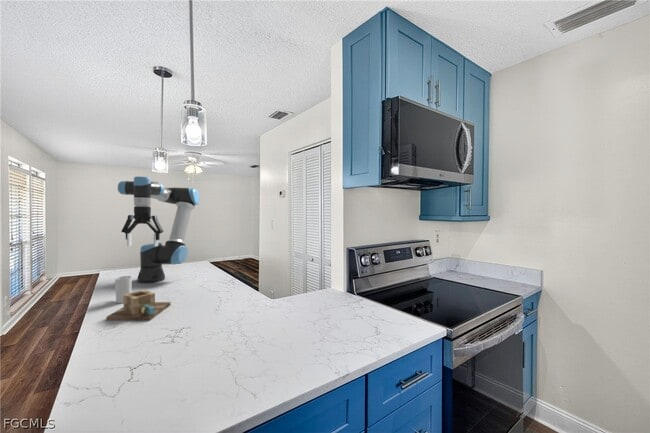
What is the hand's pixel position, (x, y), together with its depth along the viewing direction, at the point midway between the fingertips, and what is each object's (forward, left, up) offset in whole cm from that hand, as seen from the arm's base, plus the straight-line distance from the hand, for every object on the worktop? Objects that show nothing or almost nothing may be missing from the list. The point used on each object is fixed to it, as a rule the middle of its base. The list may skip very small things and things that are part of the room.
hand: (142, 246), depth 152 cm
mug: (+8, -6, -27) cm, 29 cm away
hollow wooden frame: (+25, +14, -25) cm, 38 cm away
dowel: (+31, +17, -25) cm, 43 cm away
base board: (+23, +12, -27) cm, 37 cm away
